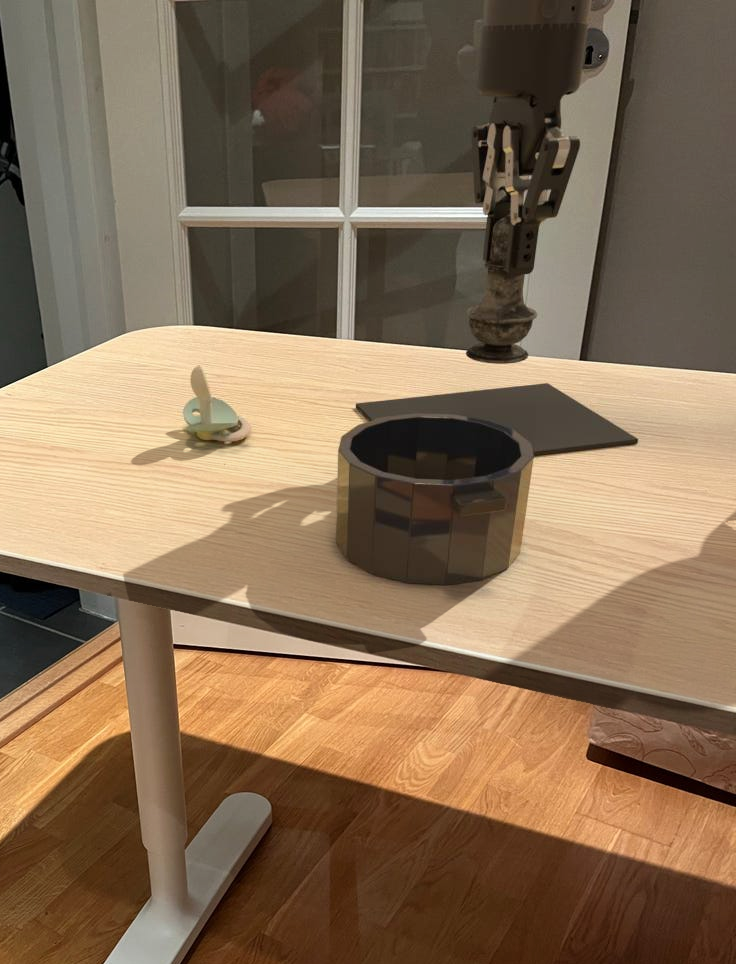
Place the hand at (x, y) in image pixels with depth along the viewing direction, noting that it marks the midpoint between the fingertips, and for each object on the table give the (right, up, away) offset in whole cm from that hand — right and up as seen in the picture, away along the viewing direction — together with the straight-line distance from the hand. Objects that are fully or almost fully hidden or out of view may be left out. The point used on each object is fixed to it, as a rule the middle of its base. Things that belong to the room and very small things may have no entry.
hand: (507, 267), depth 77 cm
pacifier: (-24, -12, +7) cm, 28 cm away
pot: (-9, -24, -12) cm, 28 cm away
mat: (0, -11, +7) cm, 13 cm away
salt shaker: (0, -6, +4) cm, 7 cm away
